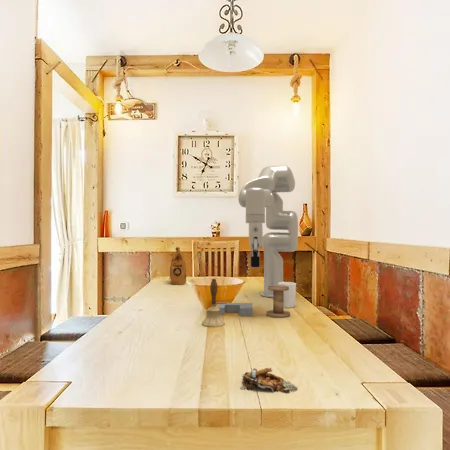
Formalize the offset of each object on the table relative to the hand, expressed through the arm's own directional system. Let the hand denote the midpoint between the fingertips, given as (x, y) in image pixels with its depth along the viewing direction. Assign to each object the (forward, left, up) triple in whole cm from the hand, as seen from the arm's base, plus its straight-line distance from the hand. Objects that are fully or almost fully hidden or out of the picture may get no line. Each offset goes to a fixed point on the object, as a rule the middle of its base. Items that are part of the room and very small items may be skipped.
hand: (255, 265), depth 151 cm
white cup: (-17, +14, -19) cm, 29 cm away
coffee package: (-79, -45, -19) cm, 93 cm away
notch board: (-2, -9, -19) cm, 21 cm away
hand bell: (+16, -15, -19) cm, 29 cm away
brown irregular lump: (+67, +2, -20) cm, 70 cm away
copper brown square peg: (0, 0, -1) cm, 1 cm away
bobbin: (0, +9, -19) cm, 21 cm away
